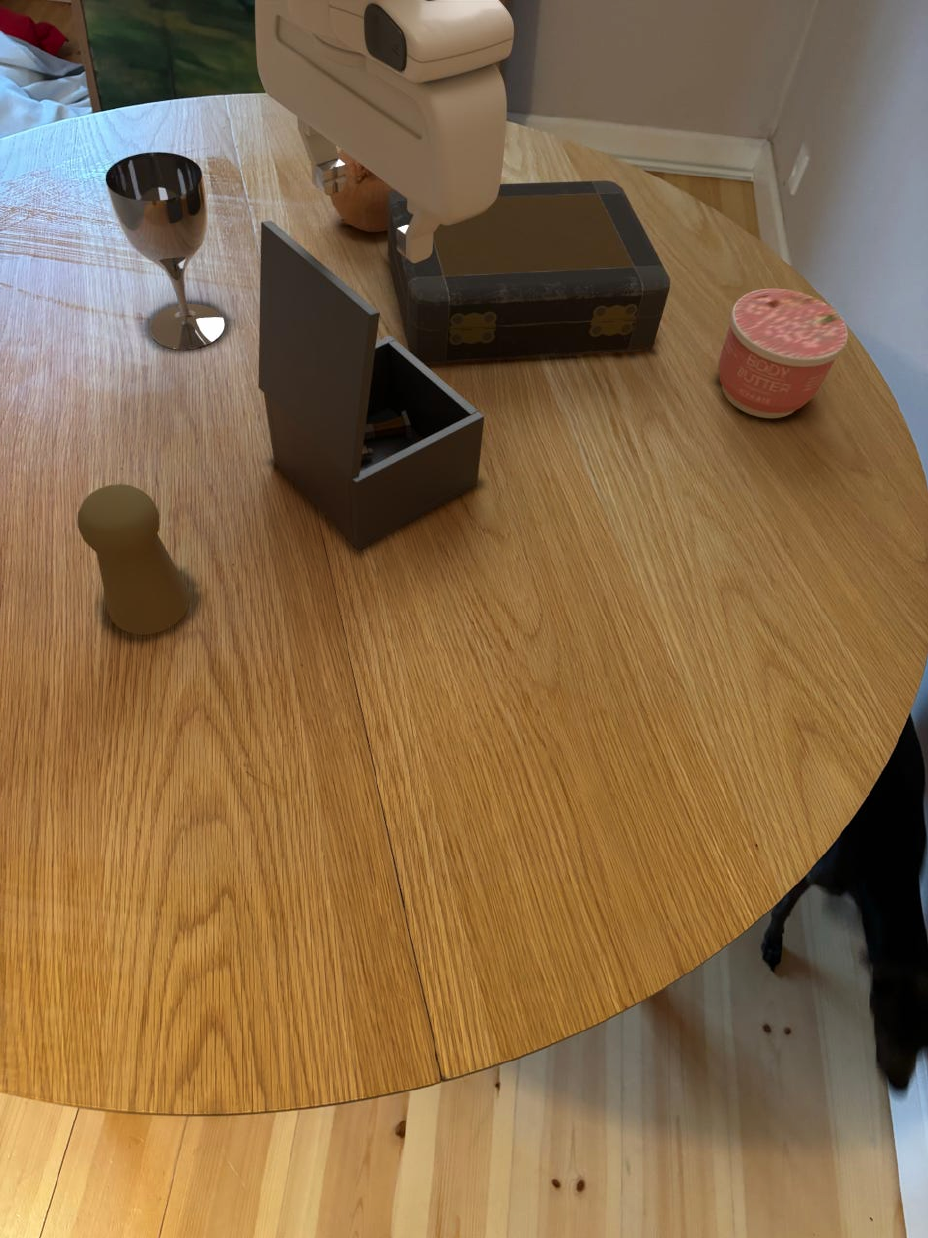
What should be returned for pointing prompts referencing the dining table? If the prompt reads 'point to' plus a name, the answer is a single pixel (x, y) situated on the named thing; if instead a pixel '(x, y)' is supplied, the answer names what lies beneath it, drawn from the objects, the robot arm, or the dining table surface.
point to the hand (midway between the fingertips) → (370, 221)
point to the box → (389, 451)
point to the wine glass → (166, 235)
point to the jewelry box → (532, 277)
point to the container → (778, 351)
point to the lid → (315, 348)
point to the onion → (362, 197)
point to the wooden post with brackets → (386, 431)
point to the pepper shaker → (133, 560)
